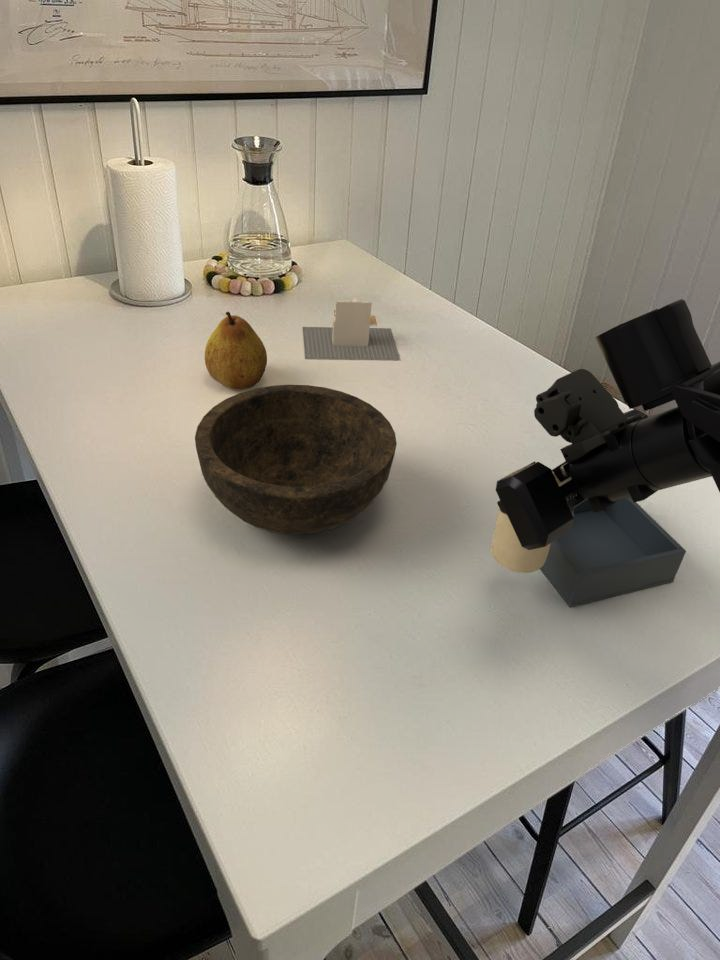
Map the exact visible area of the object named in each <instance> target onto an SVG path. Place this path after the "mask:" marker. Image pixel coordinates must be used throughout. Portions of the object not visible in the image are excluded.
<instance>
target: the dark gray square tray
mask: <svg viewBox="0 0 720 960" xmlns="http://www.w3.org/2000/svg"><path fill="white" fill-rule="evenodd" d="M572 494H573V493H572ZM570 495H571V494H570ZM570 495H568V496H570ZM568 496H567V497H568ZM567 497H565V498H567ZM573 511H574V515H573V517H574V519H573V523H572V526H571V530H570V531H568V532H567V533H565V534H564V535H562V536H561V537H559V538H558V539H556V540H555V541H553V542H552V543H551V544H550V548H549V551H548V555H547V558H546V561H545V563H544V565H543V566H542V567H541V568H540V569H539V570H540V571H541V572H542V574H543V575H544V577H546V579H547V580H548V581H549V582H550V584H551V585H552V587H553V588H554V589H555V590H556V591H557V593H558V594H559V595H560V597H561V598H562V599H563V601H564V602H565V603H566V605H567V606H568V607H569V608H574V607H578V606H582V605H586V604H590V603H594V602H598V601H602V600H606V599H611V598H614V597H618V596H623V595H626V594H629V593H634V592H639V591H642V590H645V589H646V590H647V589H651V588H654V587H659V586H663V585H666V584H670V583H673V582H674V580H675V577H676V575H677V573H678V571H679V569H680V566H681V564H682V562H683V560H684V558H685V556H686V553H687V551H686V550H685V548H684V547H682V546H681V544H680V543H679V542H677V540H676V539H674V538H673V537H672V536H671V535H670V534H669V533H668V532H667V531H666V530H665V529H664V528H663V527H662V525H660V524H659V523H658V522H657V521H656V520H655V519H654V518H653V517H652V516H651V515H650V514H649V513H648V512H647V511H646V510H645V509H644V508H643V507H642V506H641V505H640V504H639V503H638V502H635V503H634V502H633V500H632V498H627V499H623V500H620V501H617V502H615V503H614V504H612V505H611V506H609V507H608V508H606V509H605V510H603V511H599V512H595V513H594V512H593V510H592V508H591V505H590V503H589V501H588V499H587V500H585V501H584V502H582V503H581V504H579V505H577V506H576V507H574V509H573Z"/></svg>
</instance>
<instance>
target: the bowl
mask: <svg viewBox="0 0 720 960" xmlns="http://www.w3.org/2000/svg"><path fill="white" fill-rule="evenodd" d="M194 442H195V450H196V453H197V459H198V462H199V467H200V471H201V474H202V475H201V476H203V479H204V482H205V483H206V485H207V486H208V488H209V490H210V491H211V492H212V494H213V495H214V497H215V498H216V499H217V500H218V501H219V502H220V504H221V505H222V506H223V507H224V508H226V510H228V511H229V512H230V513H232V514H233V515H234V516H236V517H237V518H238V519H240V520H241V521H243V522H245V523H247V524H249V525H251V526H253V527H256V528H259V529H262V530H265V531H268V532H273V533H279V534H284V535H285V534H286V535H287V534H289V535H305V534H314V533H320V532H324V531H328V530H333V529H335V528H338V527H339V526H342V525H344V524H346V523H348V522H349V521H351V520H352V519H354V518H355V517H357V516H358V515H359V514H361V513H362V512H364V511H365V510H366V509H367V508H368V507H369V506H370V505H371V504H372V503H373V502H374V501H375V499H376V498H377V497H378V496H379V494H380V493H381V492H382V491H383V489H384V487H385V485H386V483H387V482H388V479H389V476H390V472H391V468H392V466H393V461H394V458H395V454H396V449H397V437H396V432H395V430H394V428H393V426H392V424H391V422H390V421H389V420H388V419H387V418H386V417H385V415H384V414H383V413H382V412H381V411H380V410H379V409H377V408H376V407H374V406H373V405H372V404H370V403H368V402H367V401H365V400H363V399H361V398H359V397H357V396H355V395H351V394H349V393H346V392H344V391H342V390H337V389H333V388H328V387H325V386H317V385H316V386H315V385H310V384H277V385H269V386H262V387H255V388H253V389H249V390H248V389H247V390H245V391H242V392H239V393H236V394H234V395H232V396H229V397H227V398H225V399H223V400H222V401H221V402H219V403H217V404H216V405H214V406H212V408H211V409H210V410H208V411H207V412H206V413H205V414H204V416H203V417H202V418H201V420H200V421H199V423H198V425H197V426H196V431H195V435H194Z"/></svg>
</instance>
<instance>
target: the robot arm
mask: <svg viewBox="0 0 720 960" xmlns="http://www.w3.org/2000/svg"><path fill="white" fill-rule="evenodd" d="M594 339H595V341H596V344H597V346H598V348H599V350H600V351H601V354H602V356H603V358H604V360H605V363H606V365H607V367H608V370H609V372H610V373H611V375H612V377H613V380H614V383H615V385H616V387H617V389H618V392H619V393H620V395H621V397H622V400H623V402H624V404H627V407H628V409H629V410H628V411H626V412H625V411H622V409H621V408H620V405H619V403H618V401H617V400H616V399H615V397H613V395H612V394H611V393H610V391H608V390H607V388H606V387H605V386H604V385H603V384H602V383H601V382H600V380H599V379H597V377H596V376H595V374H593V373H592V372H591V371H589V370H587V369H585V368H579V369H576V370H574V371H572V372H570V373H567V374H566V375H563V376H561V377H559V378H557V379H556V380H555V381H554V382H553V384H552V385H551V386H550V387H549V388H547V390H545V391H543V392H540V393H538V394H537V395H536V398H535V401H536V404H535V408H534V410H533V413H534V419H536V421H537V422H538V423H539V424H540V426H541V427H542V428H543V429H544V430H545V432H546V433H547V434H548V435H549V436H551V437H555V438H556V437H558V436H560V437H561V438H562V439H563V440H564V441H565V442H568V443H570V444H568V445H565V446H563V447H562V448H560V450H559V451H560V452H561V454H562V456H563V459H564V462H562V463H560V464H559V465H556V467H554V468H550V467H549V466H547V465H545V464H543V463H541V462H540V461H532V462H531V463H529V464H527V465H525V466H524V467H523V466H522V467H521V468H519V469H516V470H517V471H516V470H514V471H515V472H514V471H512V472H513V473H512V472H510V473H511V474H510V473H509V474H510V475H509V474H508V475H506V476H504V477H502V478H500V479H498V480H496V486H495V492H496V495H497V496H498V498H499V500H498V501H497V506H498V509H499V508H500V511H501V512H502V513H504V514H507V516H508V518H509V520H510V522H511V524H512V527H513V529H514V531H515V533H516V535H517V537H518V540H519V542H520V544H521V546H522V547H523V548H525V549H528V550H533V549H537V548H542V547H546V546H547V545H549V544H550V543H552V542H553V541H555V540H556V539H558V538H559V537H561V536H562V535H564V534H565V533H567V532H568V531H570V530H571V526H572V523H573V519H574V517H573V515H574V511H573V509H574V507H576V506H577V505H579V504H581V503H582V502H584V501H585V500H587V499H588V501H589V503H590V505H591V508H592V510H593V512H594V513H595V512H599V511H603V510H605V509H606V508H608V507H609V506H611V505H612V504H614V503H615V502H617V501H620V500H623V499H627V498H632V500H633V502H634V503H635V502H636V503H638V502H642V501H645V500H647V499H648V498H649V497H651V496H653V495H654V494H656V493H657V492H658V491H661V490H666V489H668V488H673V487H677V486H681V485H684V484H689V483H692V482H696V481H699V480H703V479H708V478H712V479H713V481H714V483H715V486H716V488H717V490H718V492H719V493H720V361H718V362H716V363H713V364H712V363H711V361H710V358H709V356H708V354H707V352H706V349H705V348H704V345H703V344H702V341H701V339H700V337H699V335H698V332H697V330H696V328H695V325H694V322H693V317H692V314H691V311H690V309H689V306H688V304H687V302H686V300H685V299H682V298H680V299H677V300H675V301H672V302H671V303H668V304H666V305H664V306H662V307H660V308H656V309H654V310H651V311H649V312H646V313H643V314H642V315H639V316H637V317H634V318H631V319H630V320H628V321H625V322H623V323H620V324H618V325H616V326H614V327H612V328H610V329H608V330H607V331H604V332H602V333H600V334H598V335H596V336H595V337H594ZM673 401H675V404H676V407H673V408H669V409H667V410H664V411H661V412H659V413H655V414H654V415H650V416H648V414H646V413H644V412H645V411H649V410H652V409H655V408H657V407H661V406H663V405H666V404H668V403H671V402H673ZM638 407H642V409H643V411H644V412H642V411H640V410H638V409H636V408H638ZM552 471H553V472H554V474H555V475H556V477H557V478H558V480H559V481H560V482H561V483H559V484H558V483H557V481H556V478H555V476H554V474H553V472H552ZM572 493H573V494H572ZM570 494H571V495H570ZM568 495H570V496H568ZM567 496H568V497H567ZM565 497H567V498H565Z"/></svg>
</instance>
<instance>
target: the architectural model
mask: <svg viewBox="0 0 720 960" xmlns="http://www.w3.org/2000/svg"><path fill="white" fill-rule="evenodd" d="M335 303H336V304H335V310H334V311H333V317H332V327H331V326H302V338H303V339H302V340H303V350H304V351H303V352H304V359H305V360H353V361H354V360H357V361H360V360H365V361H367V360H368V361H370V360H371V361H372V360H373V361H401V357H400V354H399V350H398V347H397V344H396V341H395V340H396V339H395V337H394V333H393V331H392V328H391V327H390V328H387V327H378V322H377V318H376V315H372V313H371V312H372V304H373V303H372V302H371V301H359V299H358V297H354V299H352V300H351V301H335Z"/></svg>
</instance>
